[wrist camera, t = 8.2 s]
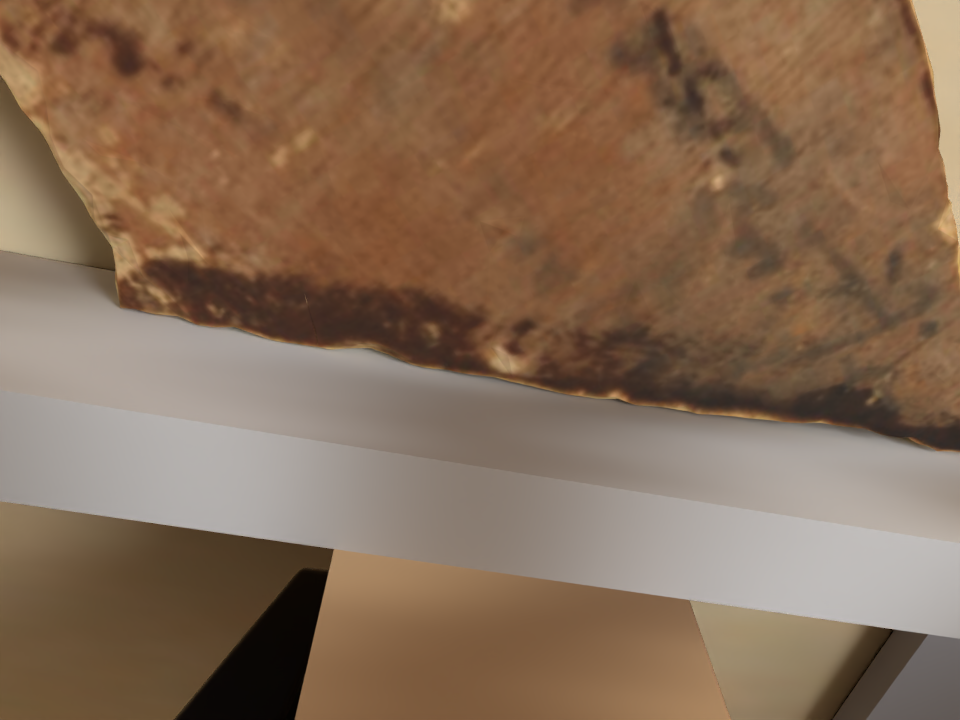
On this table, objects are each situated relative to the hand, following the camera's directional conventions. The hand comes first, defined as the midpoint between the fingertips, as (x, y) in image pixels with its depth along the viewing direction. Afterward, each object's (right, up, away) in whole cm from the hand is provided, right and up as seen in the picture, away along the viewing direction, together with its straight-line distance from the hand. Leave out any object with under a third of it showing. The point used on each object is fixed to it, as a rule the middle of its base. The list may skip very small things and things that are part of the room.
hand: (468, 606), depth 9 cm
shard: (+1, +7, -2) cm, 8 cm away
